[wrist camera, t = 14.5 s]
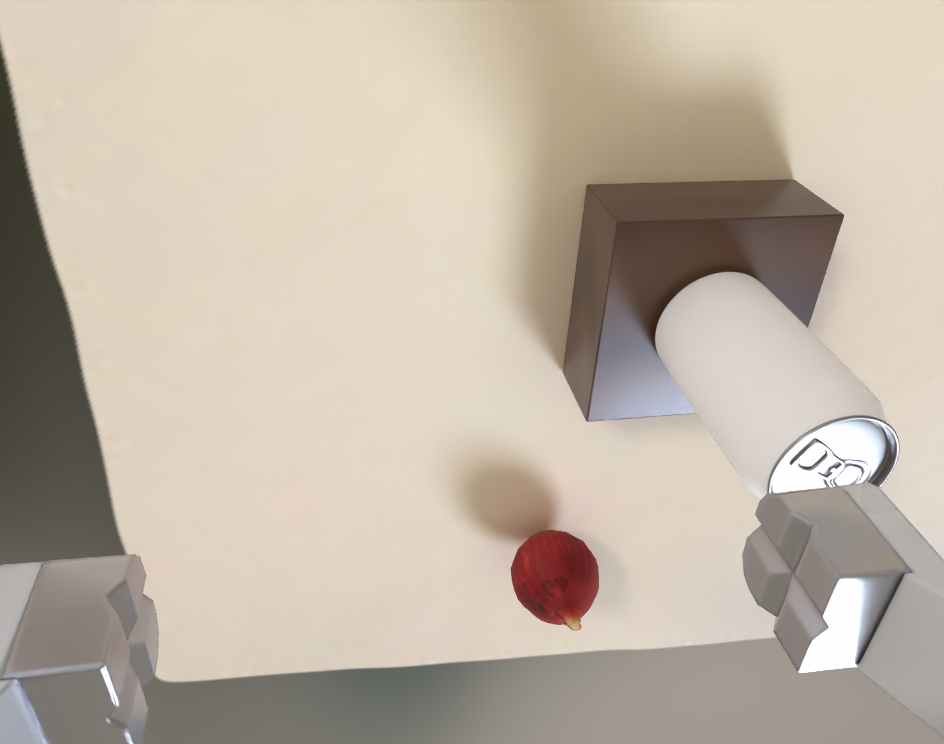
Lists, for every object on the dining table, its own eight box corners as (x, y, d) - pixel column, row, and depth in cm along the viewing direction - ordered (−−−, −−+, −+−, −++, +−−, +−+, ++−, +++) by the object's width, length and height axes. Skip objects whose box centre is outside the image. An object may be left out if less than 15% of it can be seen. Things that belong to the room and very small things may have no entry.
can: (709, 390, 44) (822, 547, 35) (627, 342, 42) (726, 498, 32) (792, 302, 42) (940, 445, 32) (711, 245, 39) (847, 383, 29)
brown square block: (586, 184, 42) (617, 222, 37) (794, 179, 44) (845, 214, 40) (562, 372, 48) (586, 422, 44) (743, 360, 50) (782, 407, 46)
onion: (492, 562, 57) (517, 657, 50) (513, 503, 54) (542, 596, 47) (567, 565, 58) (600, 657, 52) (591, 507, 55) (630, 597, 49)
